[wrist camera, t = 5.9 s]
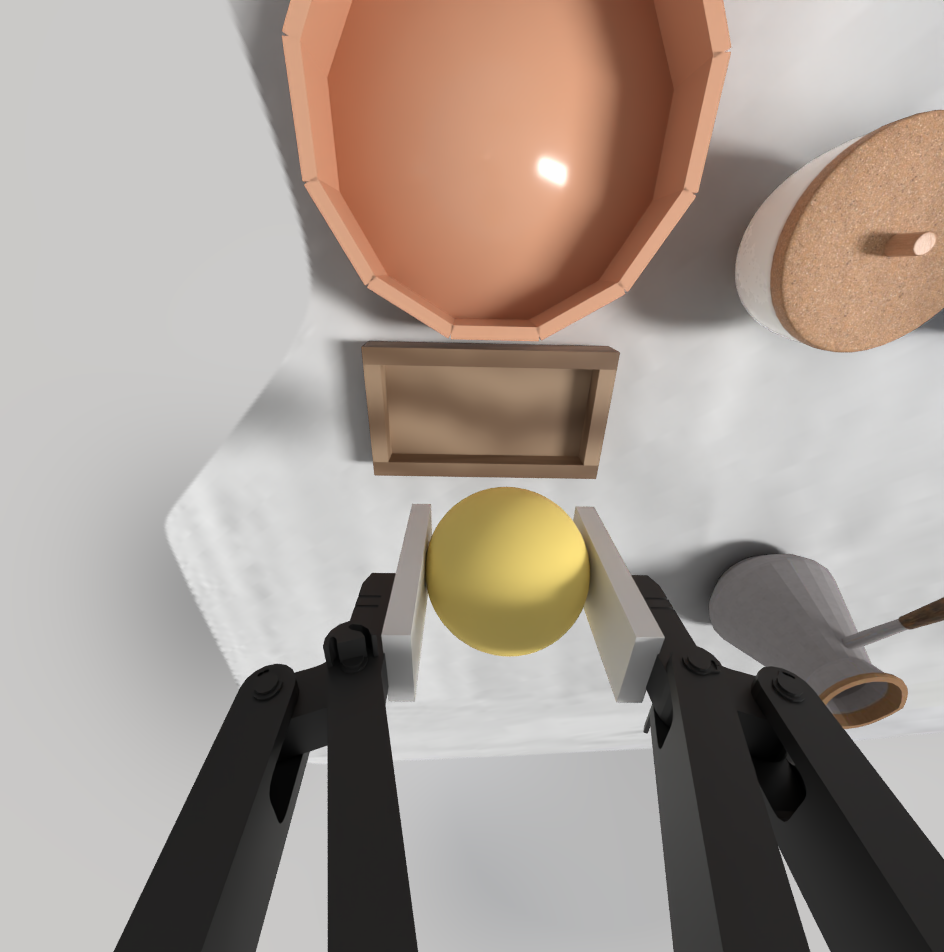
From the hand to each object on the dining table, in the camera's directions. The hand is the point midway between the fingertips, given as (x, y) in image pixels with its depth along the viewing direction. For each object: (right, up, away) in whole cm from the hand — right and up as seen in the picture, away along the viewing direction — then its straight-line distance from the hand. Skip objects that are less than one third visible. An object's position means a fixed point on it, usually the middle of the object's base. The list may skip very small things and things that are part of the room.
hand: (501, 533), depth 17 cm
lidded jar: (+20, +18, +11) cm, 29 cm away
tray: (0, +8, +15) cm, 17 cm away
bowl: (0, +23, +8) cm, 24 cm away
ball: (0, 0, +1) cm, 1 cm away
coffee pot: (+29, -4, +22) cm, 37 cm away
